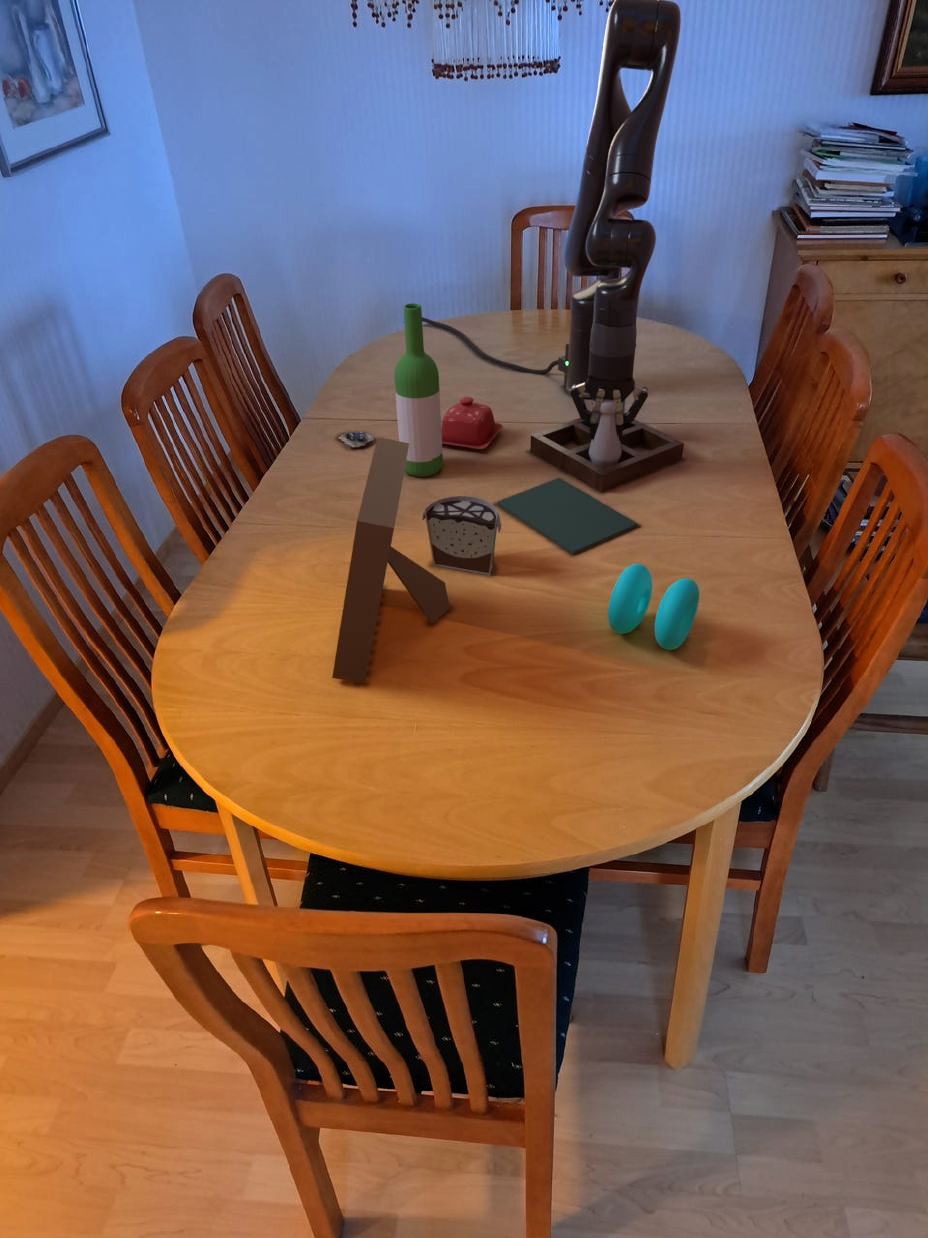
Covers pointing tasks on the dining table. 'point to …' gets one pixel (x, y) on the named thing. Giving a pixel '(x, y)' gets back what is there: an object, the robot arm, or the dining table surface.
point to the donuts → (634, 601)
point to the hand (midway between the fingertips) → (605, 440)
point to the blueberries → (356, 438)
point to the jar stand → (628, 465)
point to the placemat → (567, 515)
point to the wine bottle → (418, 400)
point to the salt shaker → (606, 438)
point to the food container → (462, 533)
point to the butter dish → (469, 425)
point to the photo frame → (379, 564)
